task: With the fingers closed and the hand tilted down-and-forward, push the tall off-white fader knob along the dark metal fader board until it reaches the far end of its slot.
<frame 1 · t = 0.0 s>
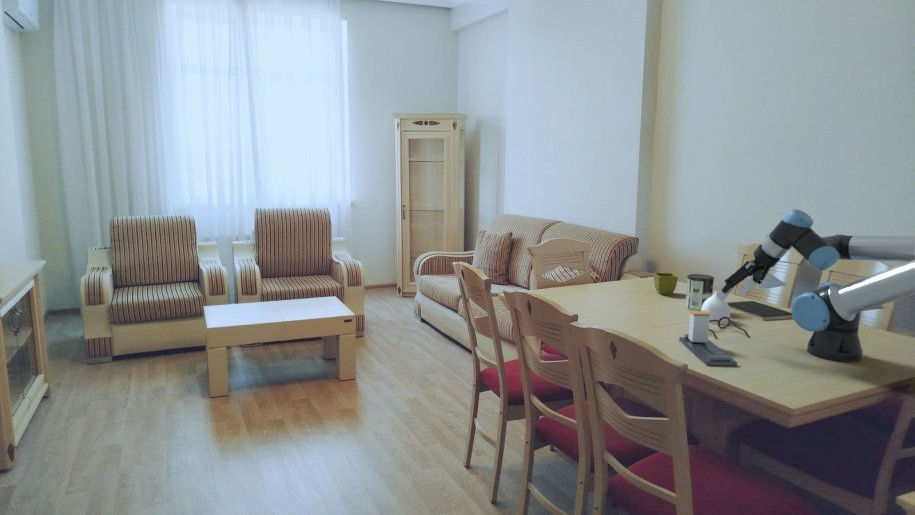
hand: (730, 296, 212), 15 cm above the table, tool tilted 35°, fingers open, 13 cm apart
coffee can: (698, 310, 256), on the table
hardcover book: (757, 314, 253), on the table
fader knob: (698, 326, 206), point 6 cm above the table, slide at 0.0 cm
teardrop: (714, 321, 239), on the table
flower pot: (664, 294, 286), on the table
fader board: (706, 352, 199), on the table
glasses: (722, 335, 222), on the table
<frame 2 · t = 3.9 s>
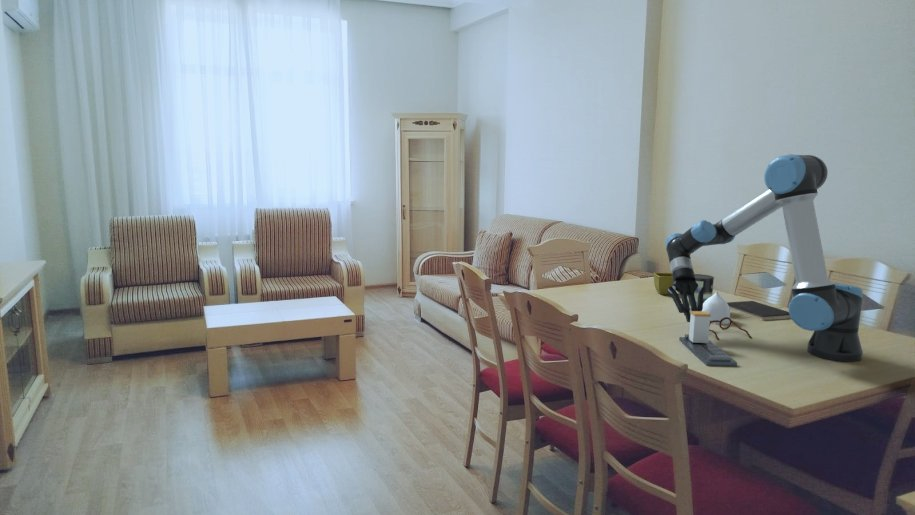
hand: (695, 329, 209), 5 cm above the table, tool tilted 45°, fingers closed
fader knob: (699, 326, 206), point 6 cm above the table, slide at 0.5 cm, touching gripper
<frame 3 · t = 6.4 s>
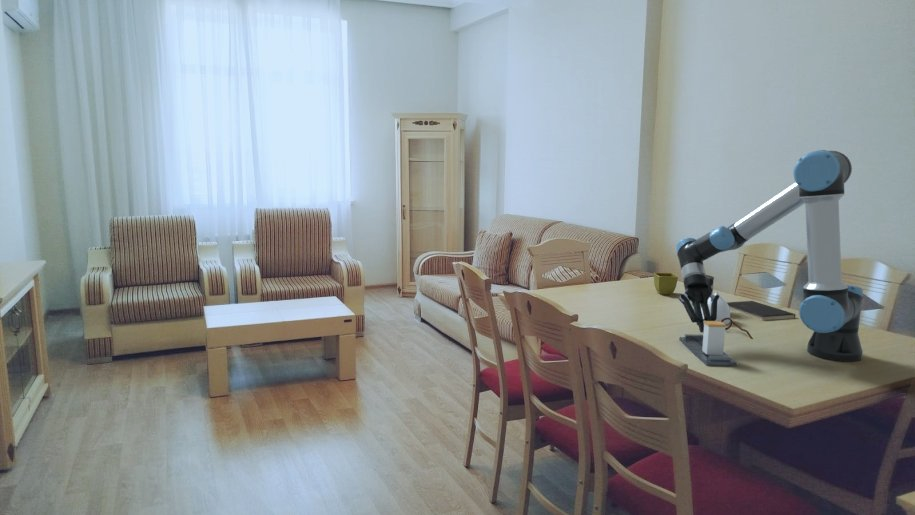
hand: (708, 340, 197), 5 cm above the table, tool tilted 45°, fingers closed
fader knob: (713, 337, 193), point 6 cm above the table, slide at 13.2 cm, touching gripper
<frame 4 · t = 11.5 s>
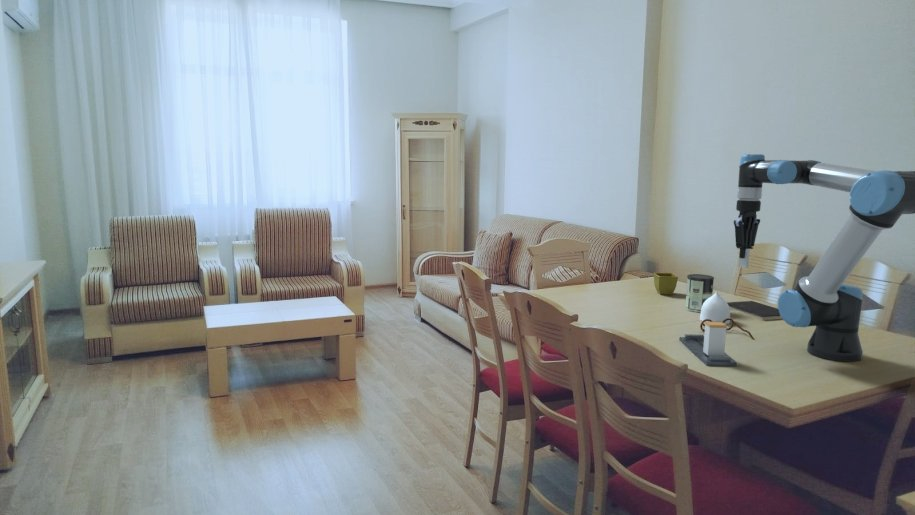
hand: (743, 267, 216), 24 cm above the table, tool pointing down, fingers closed
fader knob: (714, 338, 192), point 6 cm above the table, slide at 14.0 cm
at the end: fader knob slide at 14.0 cm; the gripper is holding nothing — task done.
